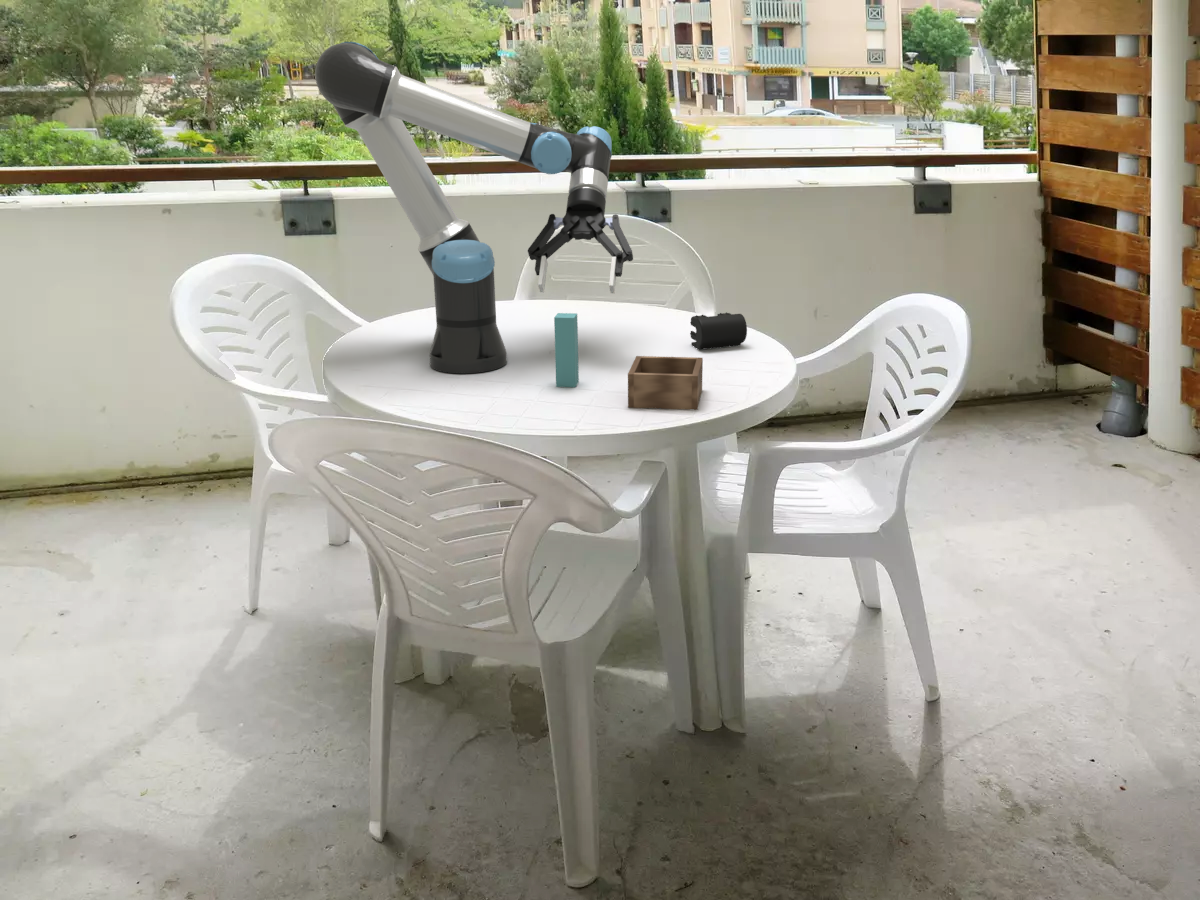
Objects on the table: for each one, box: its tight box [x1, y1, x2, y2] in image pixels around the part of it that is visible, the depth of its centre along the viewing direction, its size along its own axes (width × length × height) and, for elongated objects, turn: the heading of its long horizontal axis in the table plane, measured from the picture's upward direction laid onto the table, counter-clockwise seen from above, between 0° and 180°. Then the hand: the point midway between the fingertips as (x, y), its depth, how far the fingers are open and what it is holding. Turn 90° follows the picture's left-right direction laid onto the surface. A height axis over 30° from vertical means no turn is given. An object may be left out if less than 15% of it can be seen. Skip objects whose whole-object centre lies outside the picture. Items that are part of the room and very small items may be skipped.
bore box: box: [627, 355, 704, 411], centre depth 206 cm, size 12×12×6 cm
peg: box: [553, 312, 580, 388], centre depth 215 cm, size 4×4×13 cm
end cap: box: [689, 311, 748, 351], centre depth 240 cm, size 10×7×7 cm
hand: (576, 289), depth 221 cm, fingers open, 13 cm apart
